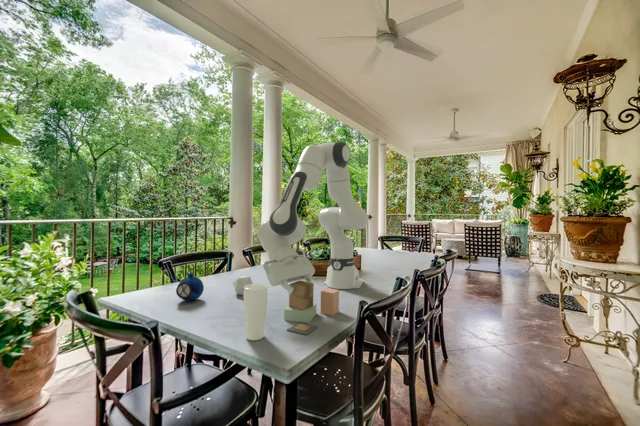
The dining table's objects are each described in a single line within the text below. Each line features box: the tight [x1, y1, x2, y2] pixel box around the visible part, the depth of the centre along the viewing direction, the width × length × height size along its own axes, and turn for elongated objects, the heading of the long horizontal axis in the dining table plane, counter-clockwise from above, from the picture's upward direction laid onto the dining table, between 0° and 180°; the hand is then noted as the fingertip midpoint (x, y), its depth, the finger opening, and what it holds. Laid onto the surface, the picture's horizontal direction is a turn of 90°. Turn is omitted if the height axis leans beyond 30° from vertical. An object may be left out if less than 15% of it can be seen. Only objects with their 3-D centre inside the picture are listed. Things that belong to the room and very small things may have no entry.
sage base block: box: [283, 302, 317, 324], centre depth 104 cm, size 9×9×4 cm
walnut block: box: [288, 280, 314, 311], centre depth 103 cm, size 6×6×8 cm
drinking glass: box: [243, 283, 268, 342], centre depth 86 cm, size 7×7×15 cm
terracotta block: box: [320, 287, 340, 316], centre depth 108 cm, size 5×5×8 cm
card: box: [286, 321, 318, 336], centre depth 93 cm, size 7×7×1 cm
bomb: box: [175, 264, 205, 302], centre depth 119 cm, size 10×11×15 cm
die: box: [232, 275, 254, 297], centre depth 130 cm, size 8×9×10 cm
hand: (302, 290), depth 103 cm, fingers open, 8 cm apart
